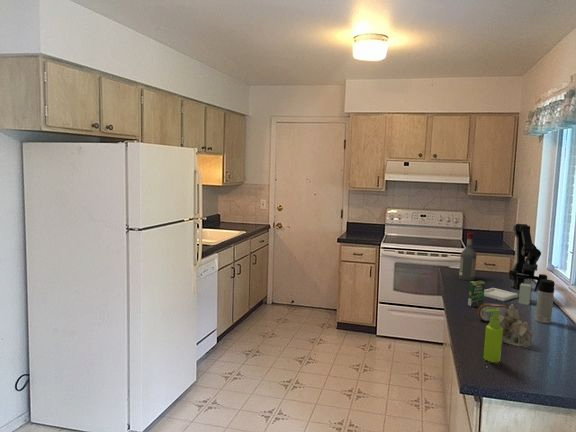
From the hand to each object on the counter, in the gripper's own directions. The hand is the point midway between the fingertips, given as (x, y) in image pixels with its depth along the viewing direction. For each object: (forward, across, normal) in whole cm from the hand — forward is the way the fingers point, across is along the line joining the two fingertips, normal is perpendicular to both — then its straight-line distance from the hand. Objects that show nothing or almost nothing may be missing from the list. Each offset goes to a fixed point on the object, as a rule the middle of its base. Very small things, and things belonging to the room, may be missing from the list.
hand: (525, 290), depth 261 cm
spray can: (+25, +12, -14) cm, 31 cm away
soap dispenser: (+72, 0, -61) cm, 95 cm away
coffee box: (+21, -20, -11) cm, 31 cm away
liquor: (-20, -38, +31) cm, 53 cm away
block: (+5, 0, +6) cm, 7 cm away
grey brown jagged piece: (+52, +2, -41) cm, 67 cm away
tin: (+36, -8, -25) cm, 45 cm away
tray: (+1, -14, +9) cm, 17 cm away
